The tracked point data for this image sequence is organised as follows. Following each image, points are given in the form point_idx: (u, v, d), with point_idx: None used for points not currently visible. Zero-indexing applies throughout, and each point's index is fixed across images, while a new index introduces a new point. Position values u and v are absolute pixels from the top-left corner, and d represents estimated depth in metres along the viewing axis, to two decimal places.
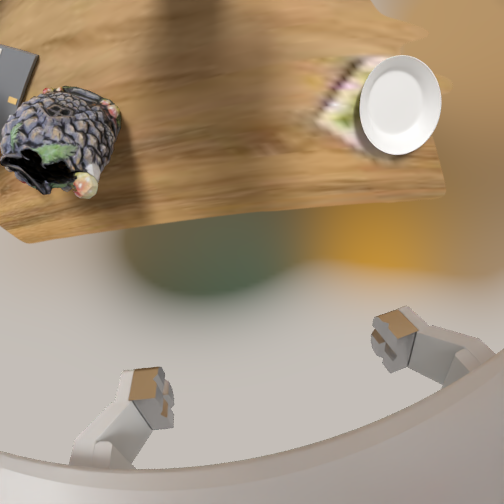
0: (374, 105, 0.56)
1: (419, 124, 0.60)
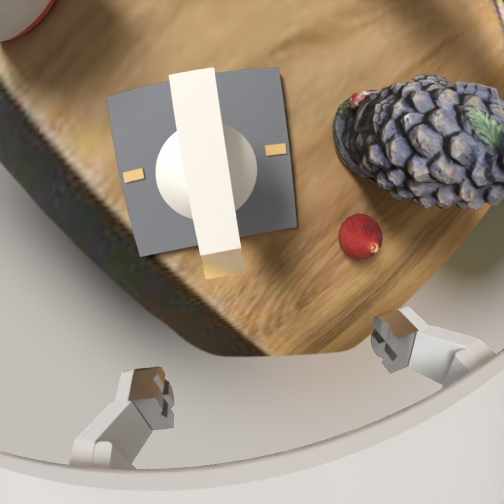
0: None
1: None
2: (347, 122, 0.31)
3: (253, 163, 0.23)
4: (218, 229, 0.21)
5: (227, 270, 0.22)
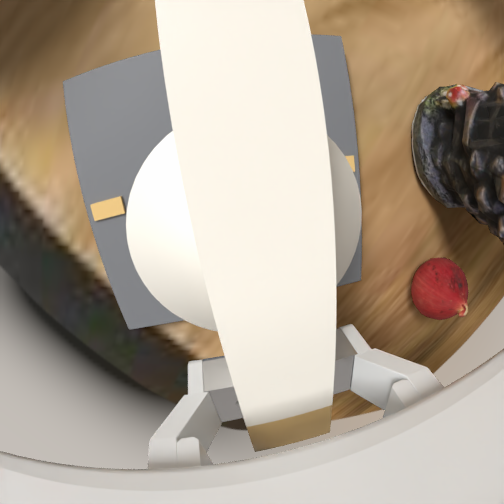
0: None
1: None
2: (437, 129, 0.18)
3: (355, 211, 0.10)
4: (291, 386, 0.08)
5: (298, 436, 0.09)
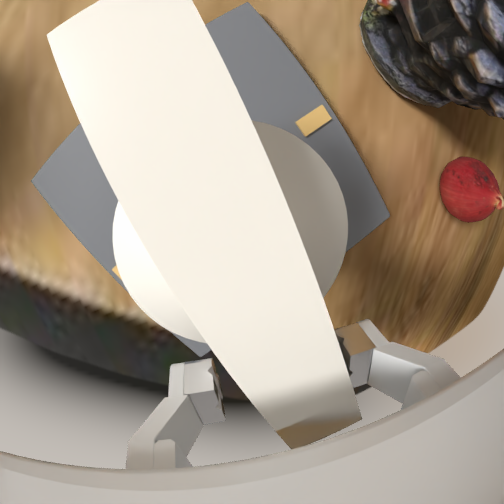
0: None
1: None
2: (388, 37, 0.15)
3: (336, 197, 0.10)
4: (306, 387, 0.08)
5: (331, 429, 0.09)
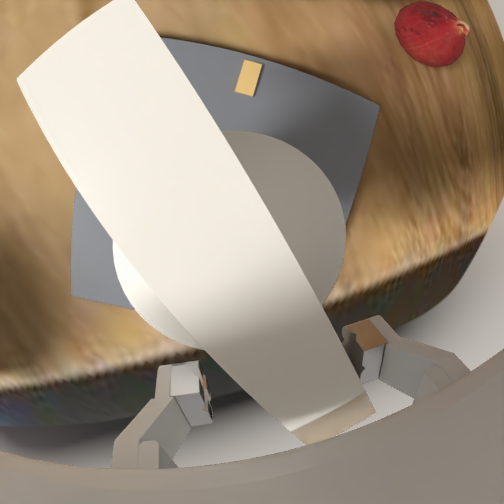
0: None
1: None
2: None
3: (330, 197, 0.09)
4: (315, 389, 0.08)
5: (345, 425, 0.10)
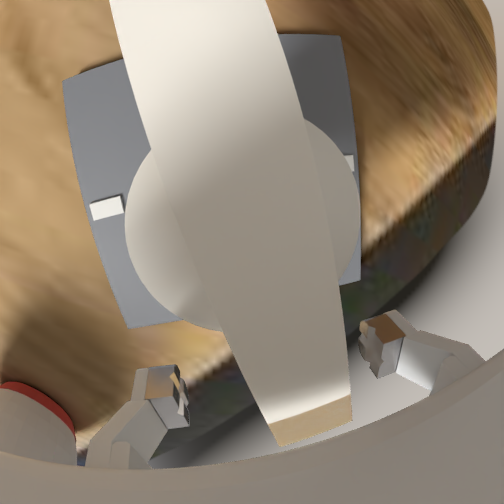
0: None
1: None
2: None
3: (352, 197, 0.10)
4: (306, 380, 0.08)
5: (321, 428, 0.09)
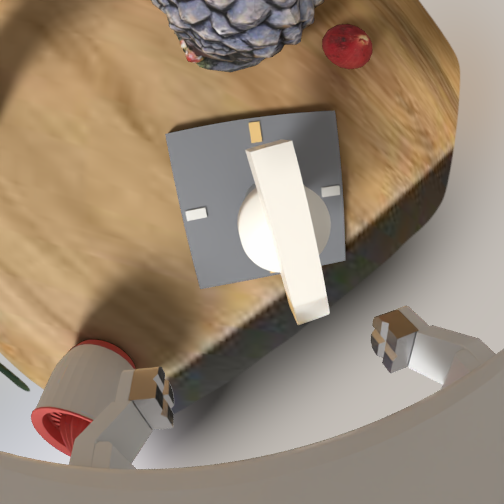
0: None
1: None
2: (221, 59, 0.26)
3: (327, 217, 0.25)
4: (308, 285, 0.24)
5: (315, 315, 0.25)
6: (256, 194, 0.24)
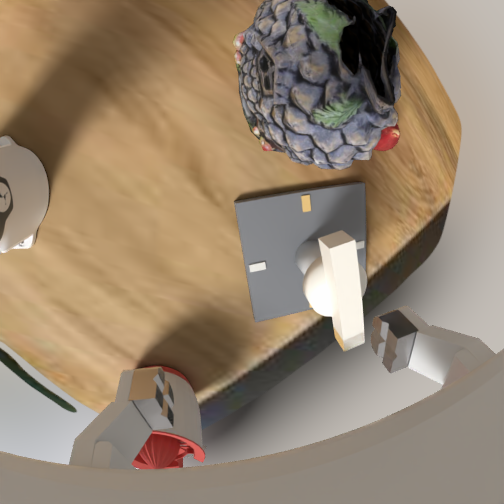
0: None
1: None
2: None
3: (365, 278, 0.35)
4: (353, 326, 0.34)
5: (355, 344, 0.35)
6: (321, 266, 0.34)
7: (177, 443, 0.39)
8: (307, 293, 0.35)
